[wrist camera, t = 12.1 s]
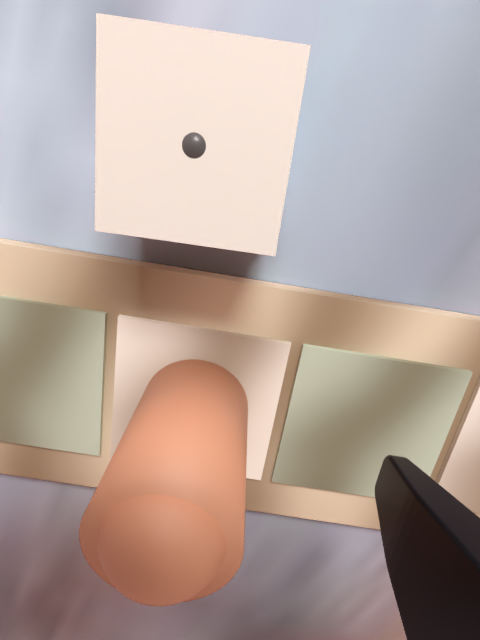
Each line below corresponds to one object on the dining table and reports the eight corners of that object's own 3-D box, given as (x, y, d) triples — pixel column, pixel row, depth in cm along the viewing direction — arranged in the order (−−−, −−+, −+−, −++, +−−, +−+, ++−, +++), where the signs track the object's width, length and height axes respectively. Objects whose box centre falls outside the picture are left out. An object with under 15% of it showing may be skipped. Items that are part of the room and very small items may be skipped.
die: (292, 85, 11) (311, 43, 7) (268, 233, 13) (274, 262, 9) (149, 64, 11) (94, 10, 7) (141, 214, 13) (93, 236, 9)
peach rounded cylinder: (256, 368, 13) (257, 535, 7) (239, 456, 15) (228, 660, 9) (147, 351, 13) (58, 505, 7) (140, 441, 15) (58, 636, 9)
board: (689, 350, 14) (714, 360, 13) (569, 546, 17) (584, 564, 16) (-98, 222, 13) (-120, 225, 12) (-67, 451, 16) (-83, 465, 15)
